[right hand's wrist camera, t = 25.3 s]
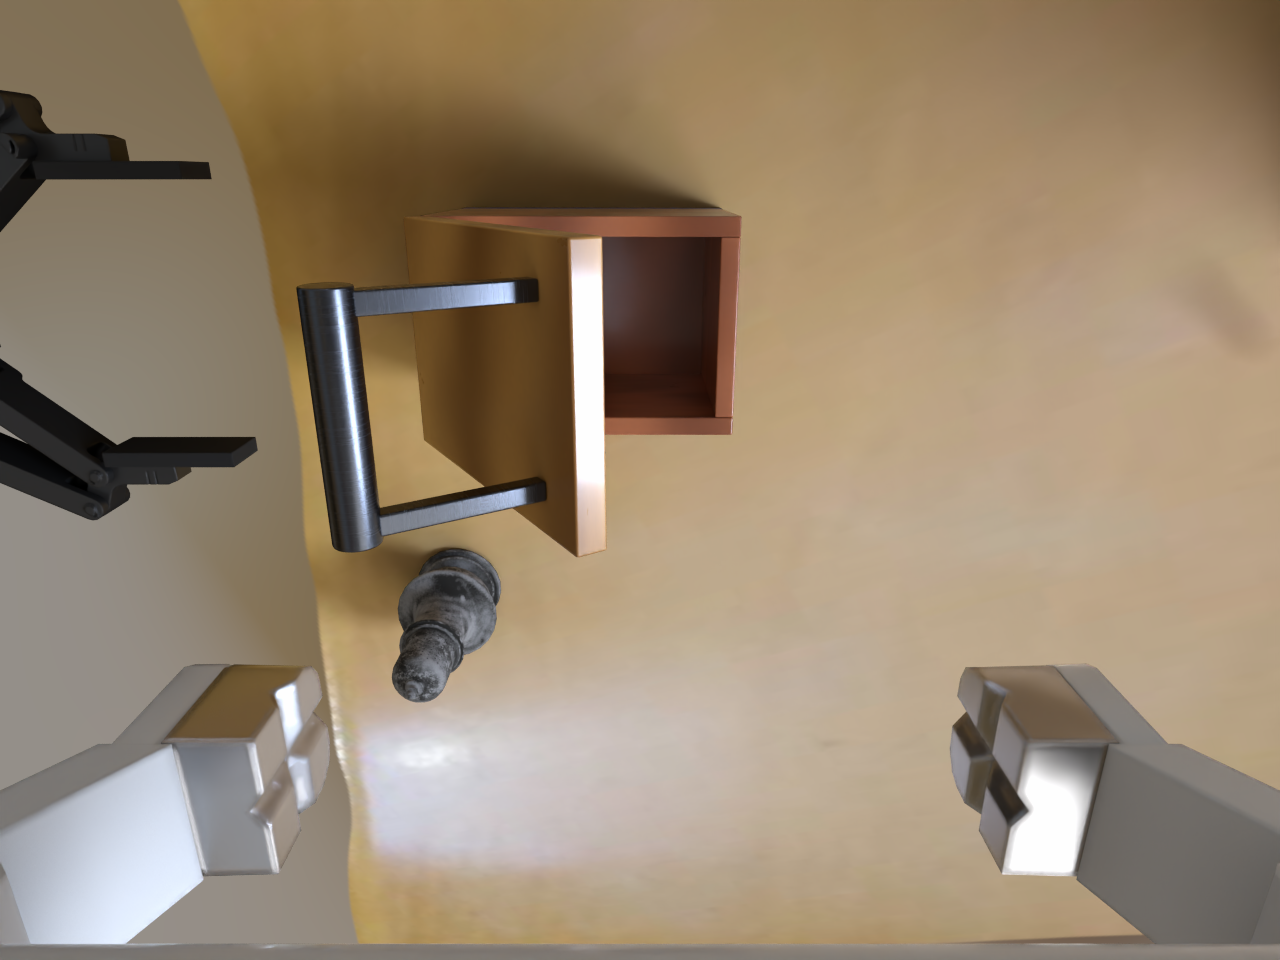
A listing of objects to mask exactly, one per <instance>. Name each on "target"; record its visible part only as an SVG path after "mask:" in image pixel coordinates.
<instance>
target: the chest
mask: <svg viewBox="0 0 1280 960" xmlns="http://www.w3.org/2000/svg"><path fill="white" fill-rule="evenodd" d="M422 216H431V217H440V218H449V219H457V220H466V221H475V222H484V223H493V224H502V225H511V226H520V227H529V228H538V229H546V230H555V231H564V232H573V233H582V234H591V235H599V236H601V237H602V262H603V334H604V407H605V435H731V434H732V428H733V418H732V417H733V405H734V381H735V357H736V333H737V310H738V286H739V262H740V236H741V216H739V215H736V214H733V213H731V212H728V211H725V210H723V209H721V208H462V209H457V210H451V211H445V212H439V213H434V214H428V215H422Z"/></svg>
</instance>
